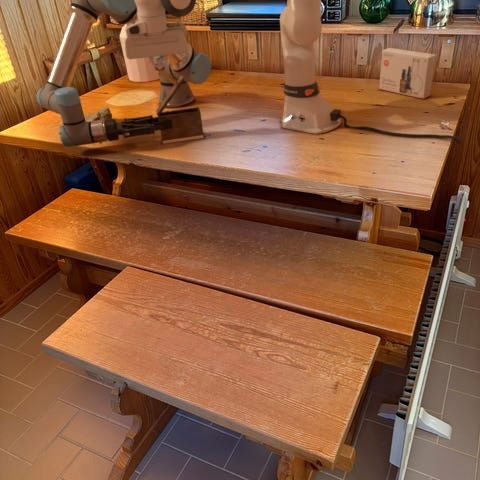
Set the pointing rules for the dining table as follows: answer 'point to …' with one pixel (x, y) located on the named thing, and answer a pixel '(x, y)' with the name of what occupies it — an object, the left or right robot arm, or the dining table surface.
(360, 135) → the dining table surface
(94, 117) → the rock
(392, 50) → the skincare box
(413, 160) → the dining table surface
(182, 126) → the chest
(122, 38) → the container
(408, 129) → the dining table surface
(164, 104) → the lid
